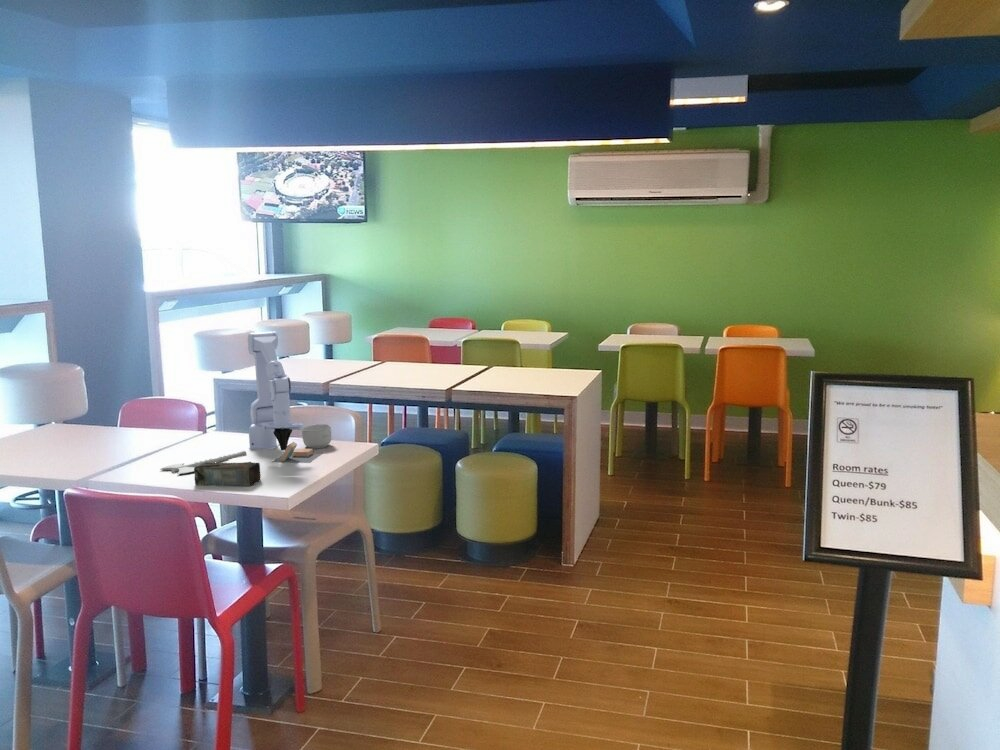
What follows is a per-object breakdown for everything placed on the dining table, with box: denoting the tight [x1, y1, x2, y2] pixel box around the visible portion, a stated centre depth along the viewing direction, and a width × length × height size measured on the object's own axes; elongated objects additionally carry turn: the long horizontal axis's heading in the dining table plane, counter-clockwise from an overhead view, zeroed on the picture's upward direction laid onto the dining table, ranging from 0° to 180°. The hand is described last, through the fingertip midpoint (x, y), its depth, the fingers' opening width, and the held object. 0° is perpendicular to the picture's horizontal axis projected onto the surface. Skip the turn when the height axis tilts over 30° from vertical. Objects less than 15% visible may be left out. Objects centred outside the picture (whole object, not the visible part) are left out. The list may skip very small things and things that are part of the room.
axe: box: [159, 450, 247, 475], centre depth 296 cm, size 30×14×2 cm, turn 142°
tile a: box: [292, 448, 314, 457], centre depth 304 cm, size 2×5×6 cm
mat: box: [271, 452, 324, 464], centre depth 301 cm, size 14×14×1 cm
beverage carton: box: [193, 461, 261, 487], centre depth 271 cm, size 8×19×7 cm, turn 82°
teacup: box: [301, 423, 332, 449], centre depth 319 cm, size 14×11×8 cm
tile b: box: [280, 441, 298, 461], centre depth 298 cm, size 2×5×6 cm
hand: (283, 449), depth 298 cm, fingers closed
